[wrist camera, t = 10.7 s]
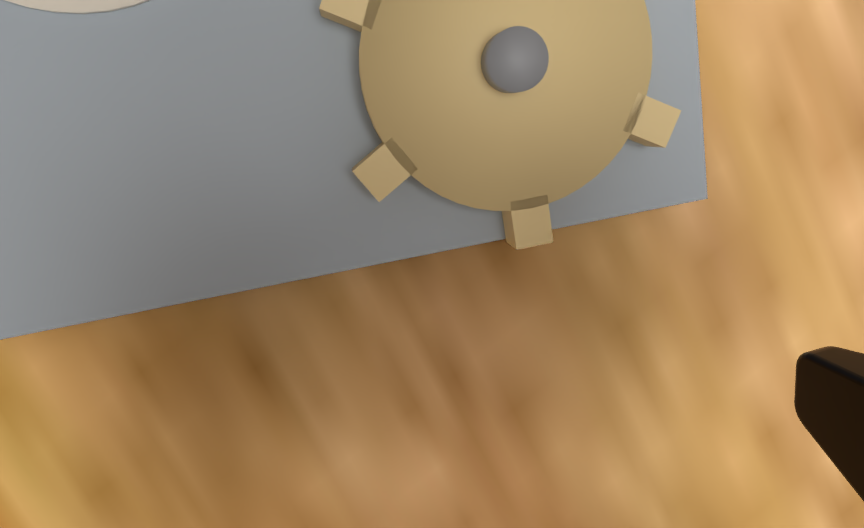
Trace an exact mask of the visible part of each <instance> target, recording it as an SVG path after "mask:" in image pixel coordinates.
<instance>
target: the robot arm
mask: <svg viewBox="0 0 864 528" xmlns="http://www.w3.org/2000/svg"><path fill="white" fill-rule="evenodd" d="M794 403H795V409H796V413H797V415H798V417H799V419H800V421H801V422H802V424H803V425H804V427H805V428H806V429H807V430H808V432H809V433H810V434H811V435H812V437H813V438H814V439H815V440H816V442H817V443H818V444H819V445H820V447H821V448H822V449H823V451H824V452H825V453H826V454H827V456H828V457H829V458H830V459H831V461H832V462H833V463H834V464H835V466H836V467H837V468H838V469H839V471H840V472H841V473H842V475H843V476H844V477H845V478H846V480H847V481H848V482H849V483H850V485H851V486H852V487H853V488H854V490H855V491H856V492H857V493H858V495H859V496H860V497H861V499H862V500H863V501H864V354H863V353H859V352H854V351H850V350H846V349H842V348H838V347H833V346H828V347H823V348H819V349H816V350H813V351H809V352H806V353H803V354H802V355H800V357H799V358H798V360H797V364H796V380H795V400H794Z"/></svg>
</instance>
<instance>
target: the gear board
mask: <svg viewBox="0 0 864 528" xmlns="http://www.w3.org/2000/svg"><path fill="white" fill-rule="evenodd" d="M703 199H708V198H707V182H706V167H705V151H704V135H703V119H702V103H701V87H700V71H699V56H698V40H697V24H696V8H695V0H150V1H147V2H144V3H142V4H139V5H137V6H133V7H128V8H124V9H120V10H115V11H111V12H100V13H89V14H75V13H56V12H50V11H44V10H39V9H33V8H28V7H25V6H21V5H18V4H15V3H12V2H8V1H5V0H0V340H1V339H6V338H11V337H16V336H21V335H26V334H31V333H36V332H41V331H46V330H51V329H56V328H61V327H66V326H71V325H76V324H81V323H86V322H91V321H96V320H101V319H106V318H111V317H116V316H121V315H126V314H131V313H136V312H141V311H146V310H151V309H156V308H161V307H166V306H171V305H176V304H181V303H186V302H191V301H196V300H201V299H206V298H211V297H216V296H221V295H226V294H231V293H236V292H241V291H246V290H251V289H256V288H261V287H267V286H272V285H277V284H282V283H287V282H292V281H297V280H302V279H307V278H312V277H317V276H322V275H327V274H332V273H337V272H342V271H347V270H352V269H357V268H362V267H367V266H372V265H377V264H382V263H387V262H392V261H397V260H402V259H407V258H412V257H417V256H422V255H427V254H432V253H437V252H442V251H447V250H452V249H457V248H462V247H467V246H472V245H477V244H482V243H487V242H492V241H497V240H502V239H506V242H507V243H508V244H510V245H511V246H512V247H513V248H515V249H516V250H518V249H523V248H528V247H533V246H538V245H543V244H548V243H553V235H552V229H557V228H562V227H567V226H572V225H577V224H582V223H587V222H592V221H597V220H602V219H607V218H612V217H617V216H622V215H627V214H632V213H637V212H643V211H648V210H653V209H658V208H663V207H668V206H673V205H678V204H683V203H688V202H693V201H698V200H703Z"/></svg>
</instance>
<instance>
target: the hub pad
mask: <svg viewBox="0 0 864 528" xmlns="http://www.w3.org/2000/svg"><path fill="white" fill-rule="evenodd" d="M5 1H8V2H12V3H15V4H18V5H21V6H25V7H28V8H33V9H39V10H44V11H50V12H56V13H75V14H89V13H100V12H111V11H115V10H120V9H124V8H128V7H133V6H137V5H139V4H142V3H144V2H147V1H150V0H5Z"/></svg>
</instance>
